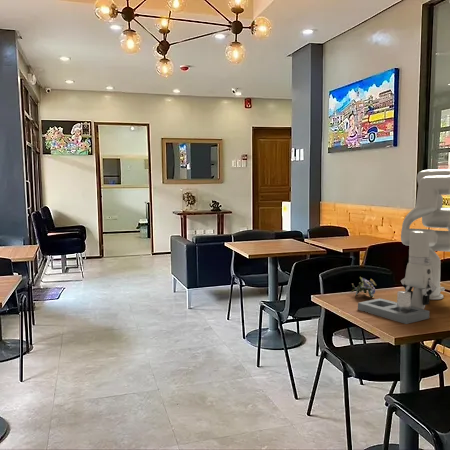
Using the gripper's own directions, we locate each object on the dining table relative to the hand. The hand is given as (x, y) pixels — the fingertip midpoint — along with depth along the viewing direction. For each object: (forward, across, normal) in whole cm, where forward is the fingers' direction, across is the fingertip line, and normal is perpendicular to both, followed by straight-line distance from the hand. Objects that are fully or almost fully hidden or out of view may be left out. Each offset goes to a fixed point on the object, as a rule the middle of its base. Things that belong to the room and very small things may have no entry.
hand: (417, 302), depth 185 cm
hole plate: (+4, +3, +12) cm, 13 cm away
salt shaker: (+4, 0, 0) cm, 4 cm away
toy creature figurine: (+4, +29, 0) cm, 29 cm away
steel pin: (+4, -2, +12) cm, 13 cm away
